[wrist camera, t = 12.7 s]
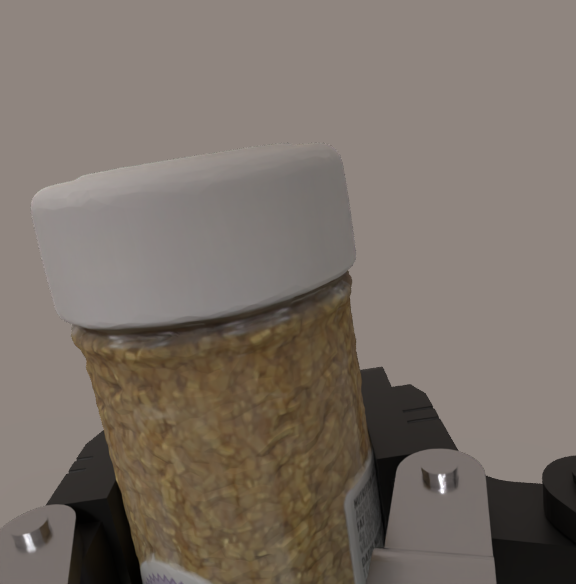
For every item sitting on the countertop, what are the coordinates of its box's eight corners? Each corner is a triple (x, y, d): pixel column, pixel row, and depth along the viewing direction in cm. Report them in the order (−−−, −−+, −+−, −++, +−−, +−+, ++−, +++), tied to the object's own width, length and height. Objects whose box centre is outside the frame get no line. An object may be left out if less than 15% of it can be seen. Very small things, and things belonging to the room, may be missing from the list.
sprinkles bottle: (174, 936, 10) (-64, 198, 6) (251, 692, 14) (130, 171, 11) (434, 1005, 8) (301, 131, 5) (432, 714, 13) (357, 131, 9)
